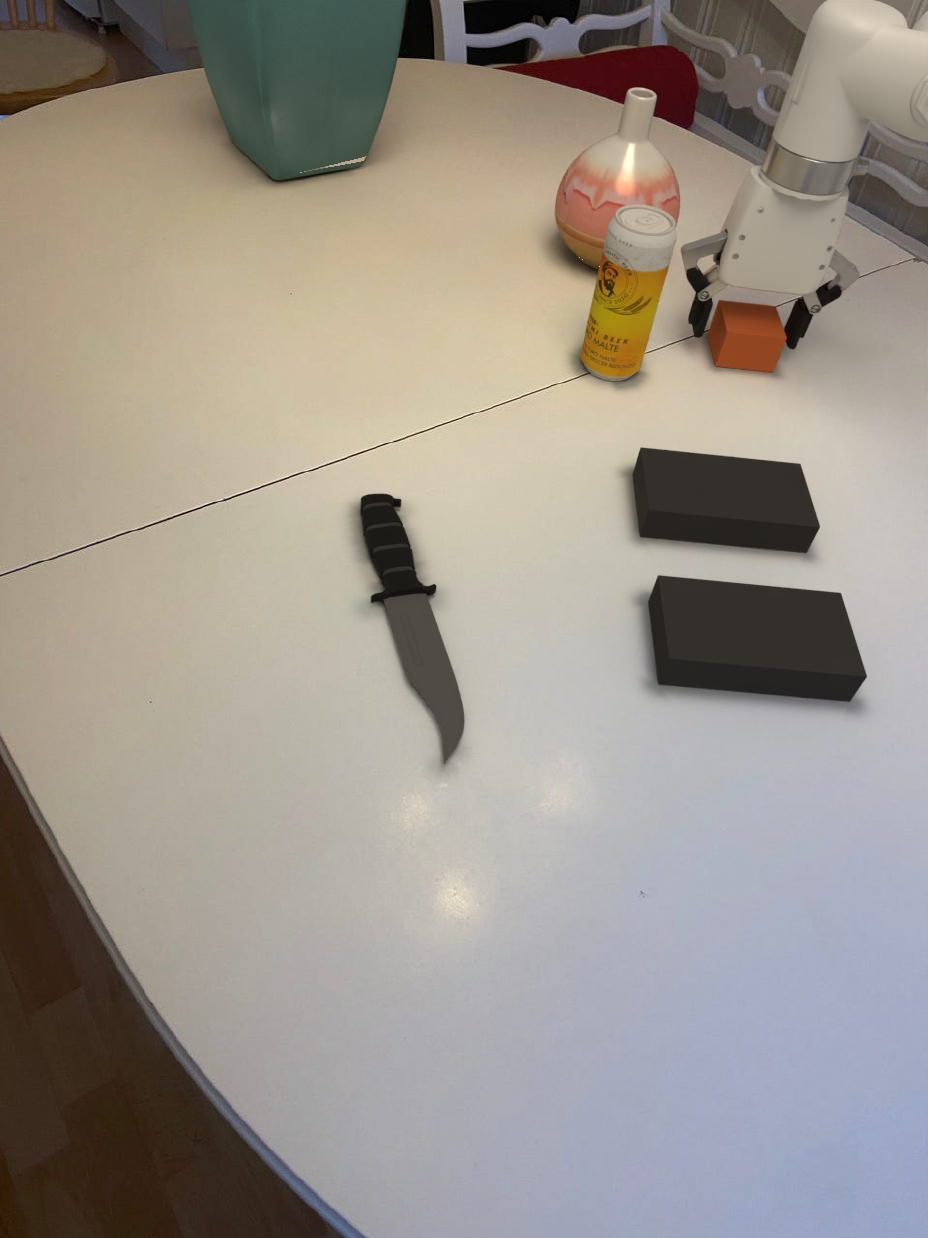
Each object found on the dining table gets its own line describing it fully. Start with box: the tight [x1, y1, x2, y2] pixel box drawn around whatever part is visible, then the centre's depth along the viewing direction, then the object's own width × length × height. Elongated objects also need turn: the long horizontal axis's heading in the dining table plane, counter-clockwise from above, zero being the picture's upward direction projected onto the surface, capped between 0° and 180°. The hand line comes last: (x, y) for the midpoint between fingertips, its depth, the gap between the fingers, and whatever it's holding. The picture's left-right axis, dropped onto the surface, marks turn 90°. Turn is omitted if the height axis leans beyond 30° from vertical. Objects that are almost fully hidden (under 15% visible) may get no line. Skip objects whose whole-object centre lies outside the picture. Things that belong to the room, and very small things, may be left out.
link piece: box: [707, 299, 787, 373], centre depth 94 cm, size 6×6×4 cm
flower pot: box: [185, 0, 407, 181], centre depth 106 cm, size 20×20×28 cm
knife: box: [360, 493, 465, 765], centre depth 67 cm, size 25×2×5 cm
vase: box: [554, 87, 681, 271], centre depth 100 cm, size 14×14×18 cm
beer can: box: [580, 205, 678, 382], centre depth 86 cm, size 6×6×15 cm
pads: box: [632, 446, 868, 703], centre depth 73 cm, size 14×23×3 cm, turn 178°
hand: (742, 335), depth 95 cm, fingers open, 9 cm apart
